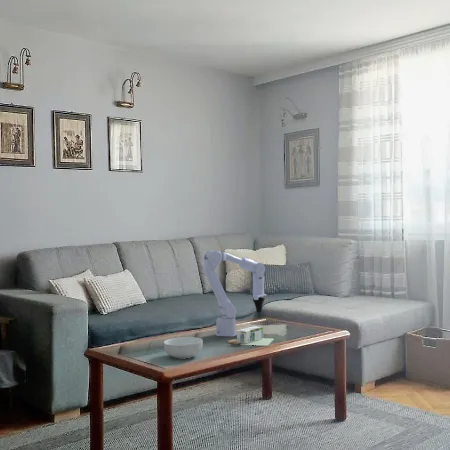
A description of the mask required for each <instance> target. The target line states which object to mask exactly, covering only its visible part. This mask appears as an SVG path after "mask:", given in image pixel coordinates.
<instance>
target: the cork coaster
mask: <svg viewBox="0 0 450 450" xmlns="http://www.w3.org/2000/svg"><path fill="white" fill-rule="evenodd" d="M227 343H228V344H231V345H232V344H233V345H238V344H239V345H240V344H241V343H240V342H237V338H236V339H230V340H229V339H228V340H227Z"/></svg>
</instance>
